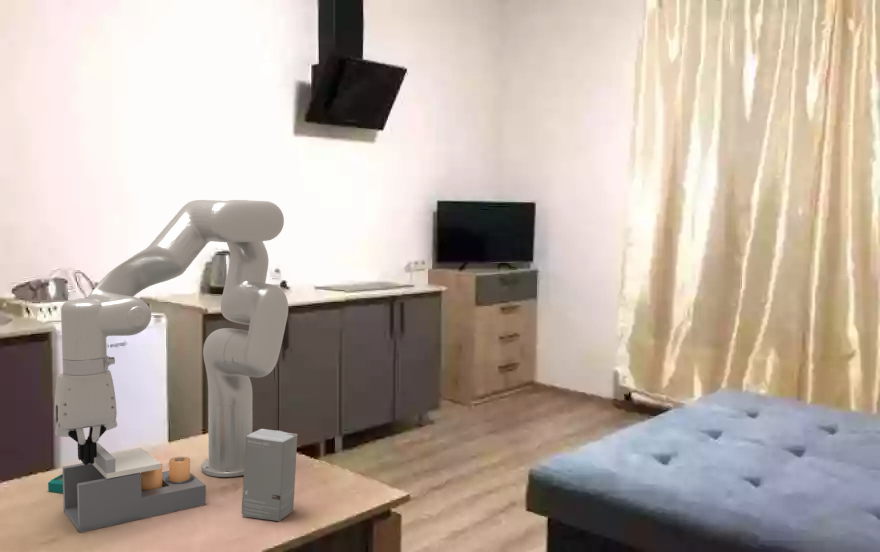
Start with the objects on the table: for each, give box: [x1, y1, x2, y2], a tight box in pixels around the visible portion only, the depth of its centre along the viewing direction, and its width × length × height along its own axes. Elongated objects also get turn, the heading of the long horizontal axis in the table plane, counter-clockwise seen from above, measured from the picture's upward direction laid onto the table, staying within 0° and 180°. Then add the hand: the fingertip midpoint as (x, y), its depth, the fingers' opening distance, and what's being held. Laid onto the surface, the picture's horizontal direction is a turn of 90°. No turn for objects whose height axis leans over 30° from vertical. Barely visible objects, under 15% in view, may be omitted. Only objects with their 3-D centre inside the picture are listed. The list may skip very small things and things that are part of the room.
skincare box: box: [241, 428, 298, 522], centre depth 156 cm, size 8×7×16 cm
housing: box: [62, 456, 207, 533], centre depth 157 cm, size 24×12×9 cm, turn 128°
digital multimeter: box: [47, 473, 63, 494], centre depth 172 cm, size 7×15×3 cm, turn 172°
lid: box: [93, 442, 162, 479], centre depth 156 cm, size 10×12×4 cm
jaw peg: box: [140, 463, 163, 491], centre depth 159 cm, size 4×4×8 cm
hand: (87, 462), depth 151 cm, fingers closed
